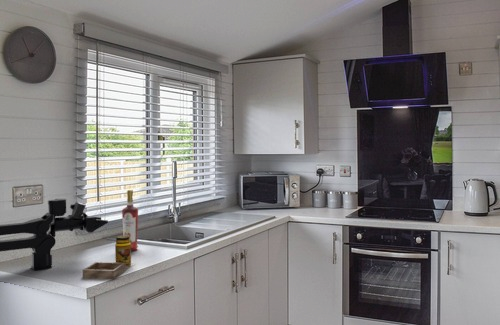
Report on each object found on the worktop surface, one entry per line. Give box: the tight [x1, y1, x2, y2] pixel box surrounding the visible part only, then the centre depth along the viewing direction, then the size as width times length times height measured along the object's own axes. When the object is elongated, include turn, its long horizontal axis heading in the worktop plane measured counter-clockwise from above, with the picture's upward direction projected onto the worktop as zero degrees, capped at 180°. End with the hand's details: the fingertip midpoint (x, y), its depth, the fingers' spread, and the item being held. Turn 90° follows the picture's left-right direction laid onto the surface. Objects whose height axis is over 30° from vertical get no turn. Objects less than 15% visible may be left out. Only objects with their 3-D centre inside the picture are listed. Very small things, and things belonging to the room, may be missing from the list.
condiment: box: [114, 235, 135, 269], centre depth 182 cm, size 7×8×12 cm
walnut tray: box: [81, 261, 127, 280], centre depth 170 cm, size 12×11×3 cm
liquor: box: [121, 189, 139, 252], centre depth 208 cm, size 7×7×28 cm
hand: (104, 220), depth 193 cm, fingers open, 9 cm apart
